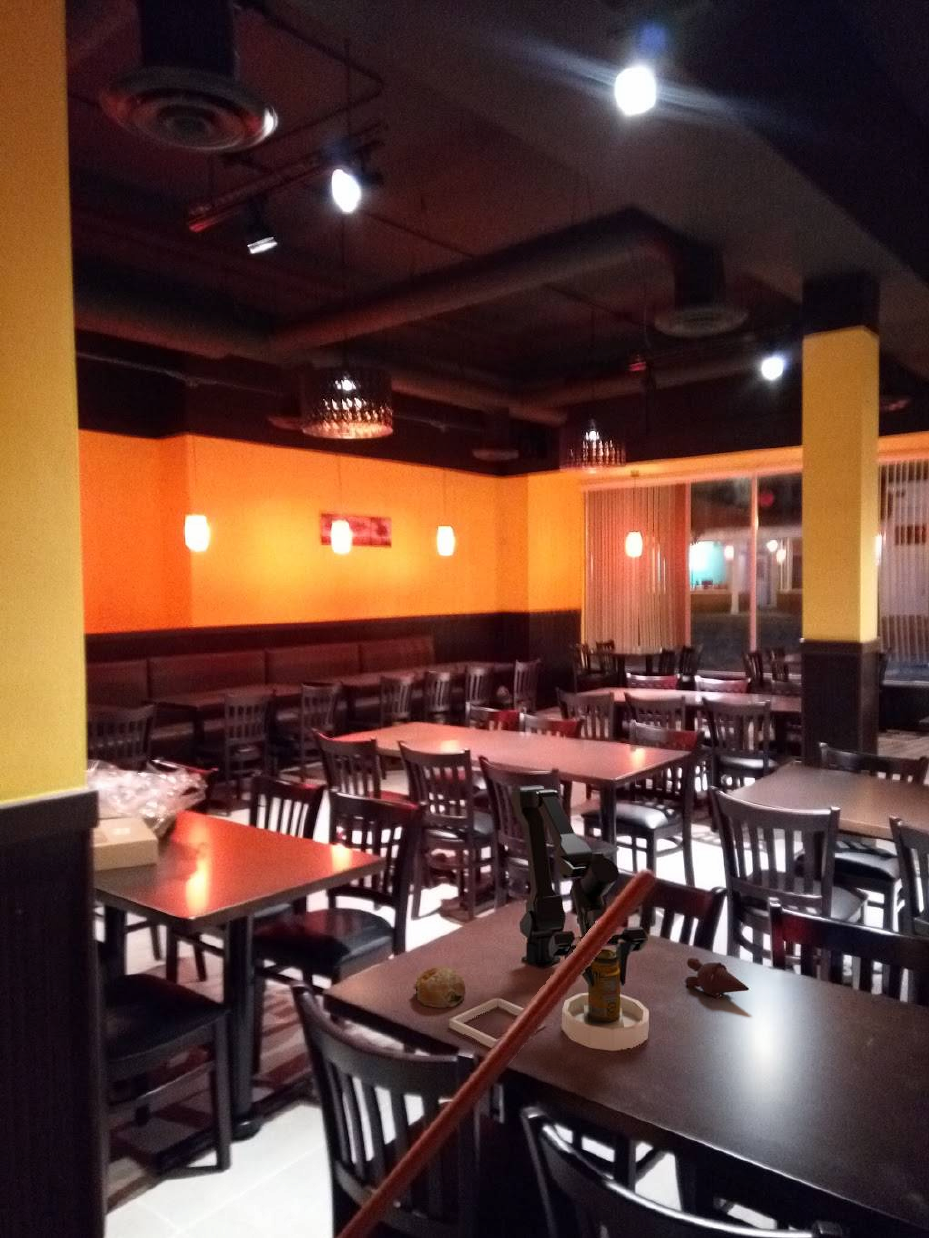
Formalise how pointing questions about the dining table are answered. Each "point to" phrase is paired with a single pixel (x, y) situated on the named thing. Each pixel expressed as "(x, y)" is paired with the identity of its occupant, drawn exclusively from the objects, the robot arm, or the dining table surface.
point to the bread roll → (440, 987)
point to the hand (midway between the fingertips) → (607, 985)
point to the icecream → (713, 978)
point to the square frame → (458, 1021)
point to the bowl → (606, 1037)
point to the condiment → (604, 992)
